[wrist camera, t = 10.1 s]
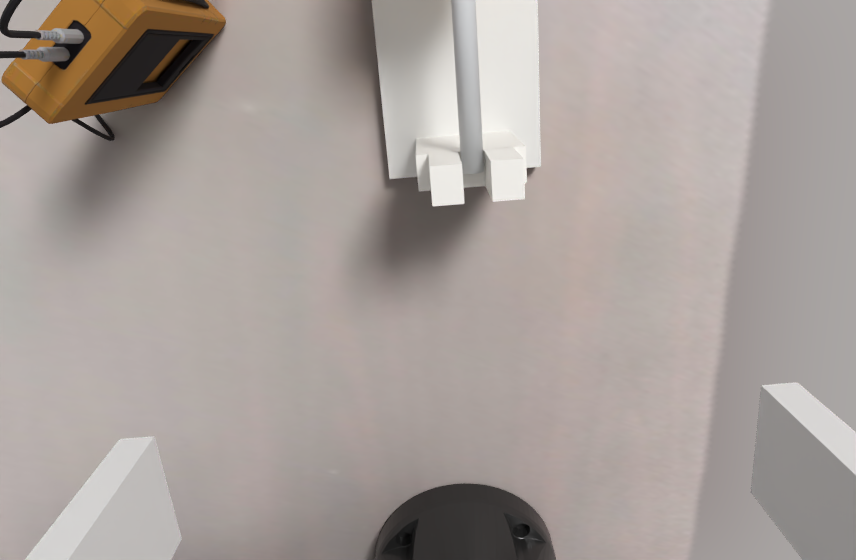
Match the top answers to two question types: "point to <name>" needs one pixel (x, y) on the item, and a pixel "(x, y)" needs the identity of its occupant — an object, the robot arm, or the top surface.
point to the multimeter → (105, 55)
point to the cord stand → (460, 94)
